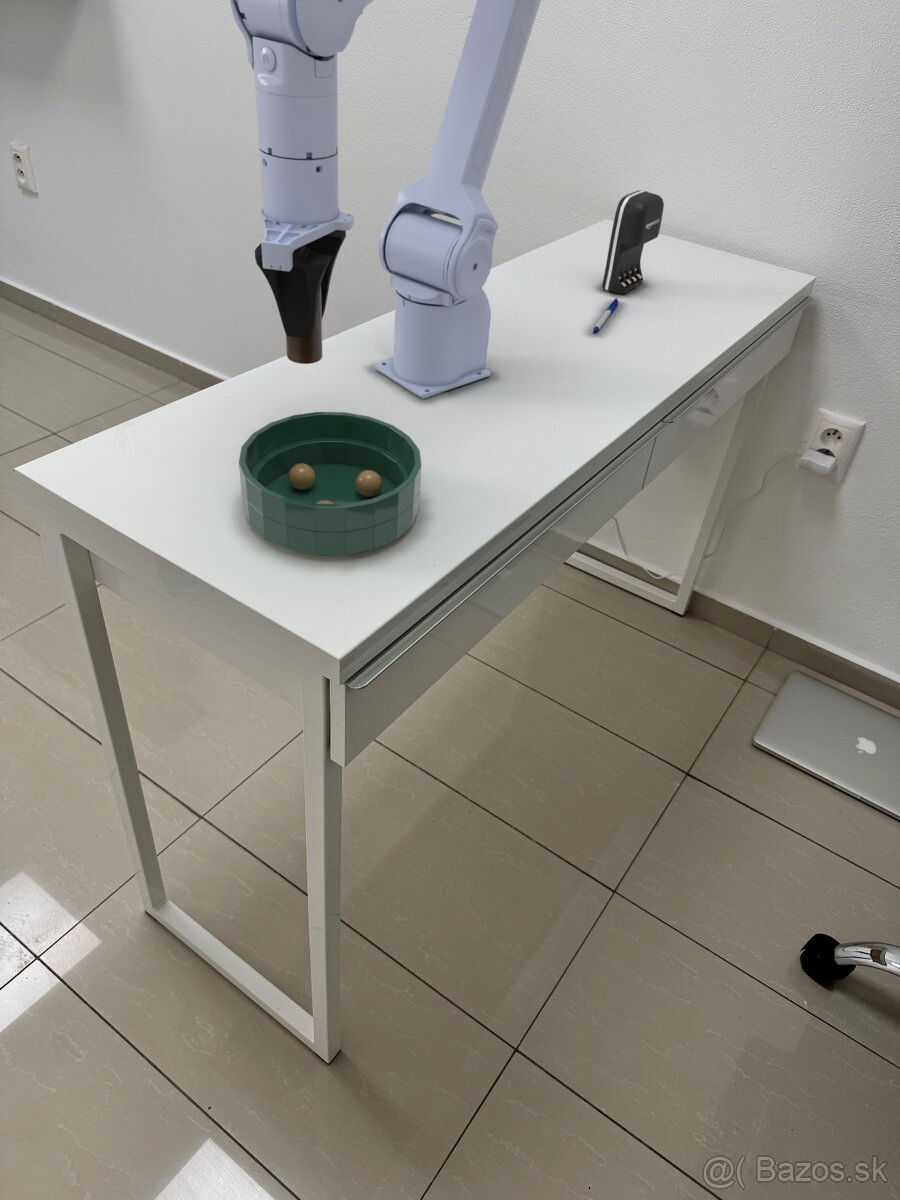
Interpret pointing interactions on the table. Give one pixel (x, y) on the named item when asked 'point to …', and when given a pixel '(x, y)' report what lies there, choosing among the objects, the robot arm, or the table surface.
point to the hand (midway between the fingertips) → (304, 327)
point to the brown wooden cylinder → (307, 341)
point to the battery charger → (631, 239)
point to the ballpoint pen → (606, 315)
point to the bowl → (330, 483)
